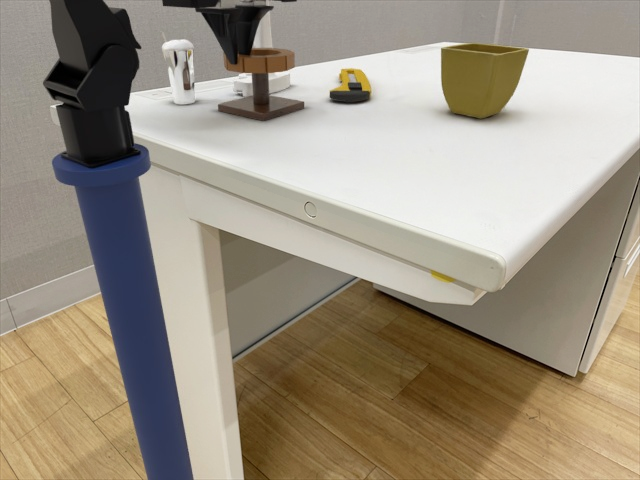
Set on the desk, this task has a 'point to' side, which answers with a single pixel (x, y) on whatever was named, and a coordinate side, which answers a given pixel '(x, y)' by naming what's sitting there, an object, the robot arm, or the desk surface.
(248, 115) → the peg
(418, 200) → the desk surface
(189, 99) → the milkshake
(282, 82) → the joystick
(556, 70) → the desk surface
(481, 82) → the flower pot
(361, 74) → the utility knife
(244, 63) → the brick ring
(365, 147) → the desk surface
